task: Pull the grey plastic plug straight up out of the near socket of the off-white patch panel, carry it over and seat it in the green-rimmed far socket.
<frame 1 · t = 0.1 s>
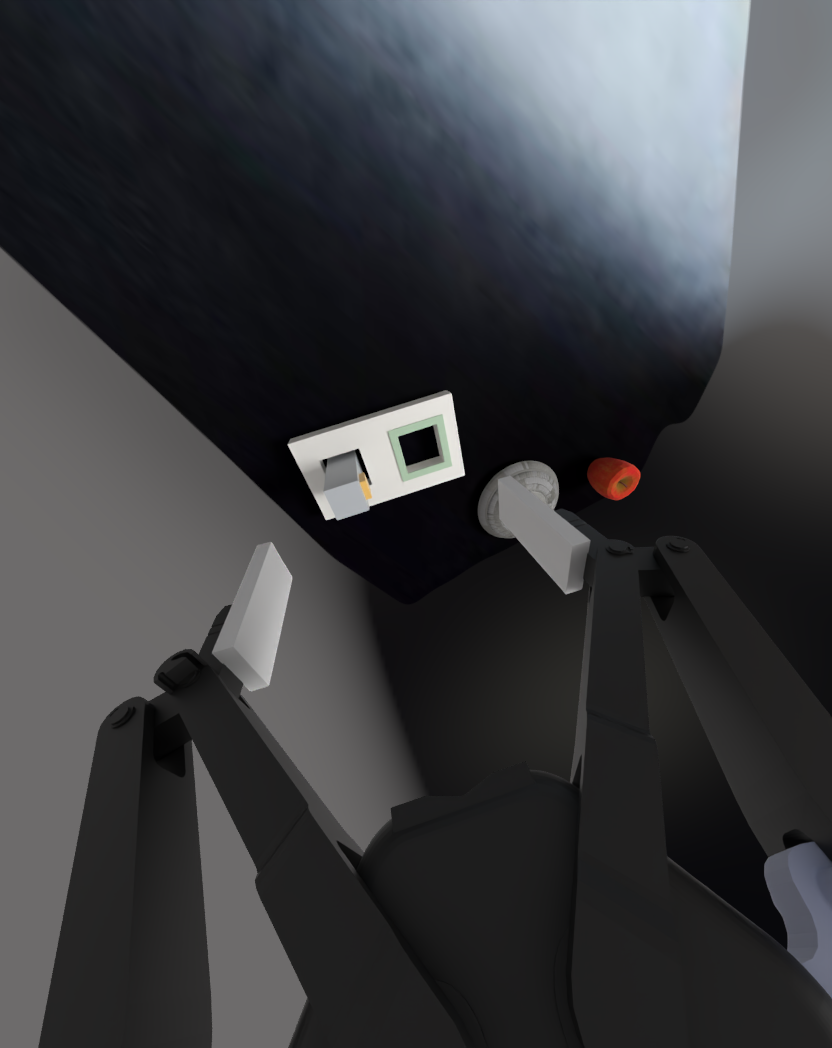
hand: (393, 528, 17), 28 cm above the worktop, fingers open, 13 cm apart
panel: (382, 455, 43), on the worktop
apple: (593, 467, 52), on the worktop
plug: (346, 466, 43), resting in panel
flying saucer: (513, 498, 53), on the worktop
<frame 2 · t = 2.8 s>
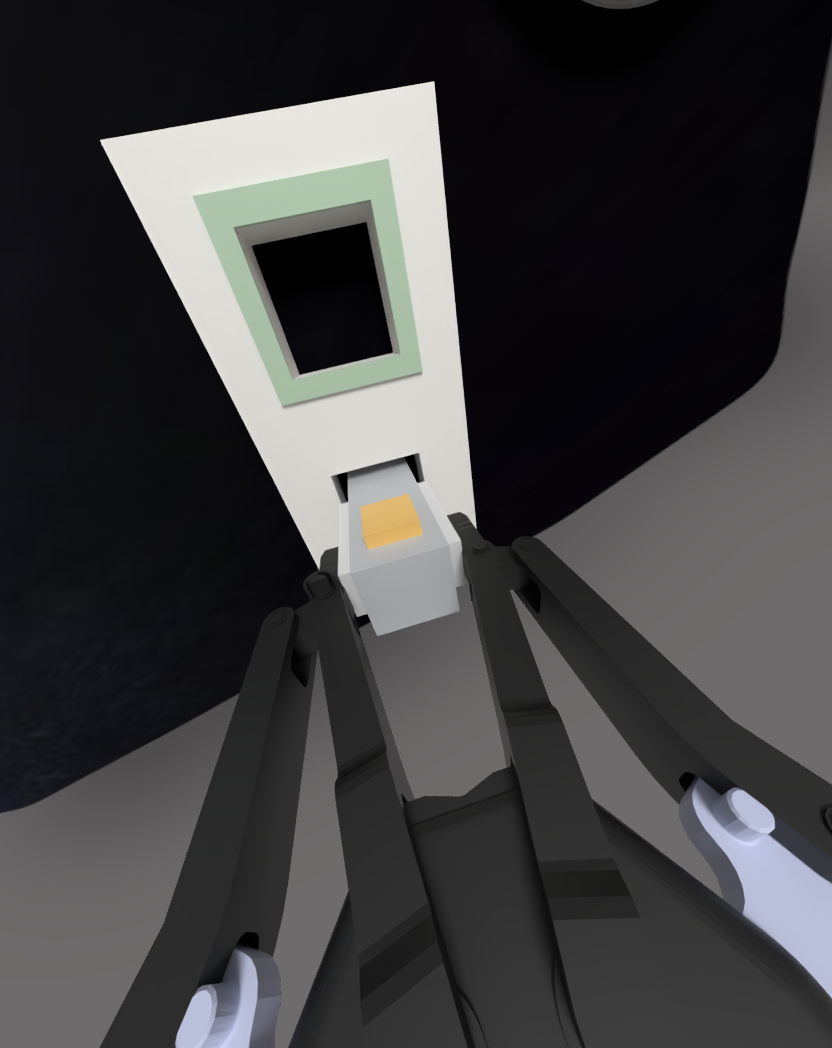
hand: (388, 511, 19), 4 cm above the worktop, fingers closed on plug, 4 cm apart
panel: (360, 411, 19), on the worktop
plug: (382, 487, 22), resting in panel, touching gripper
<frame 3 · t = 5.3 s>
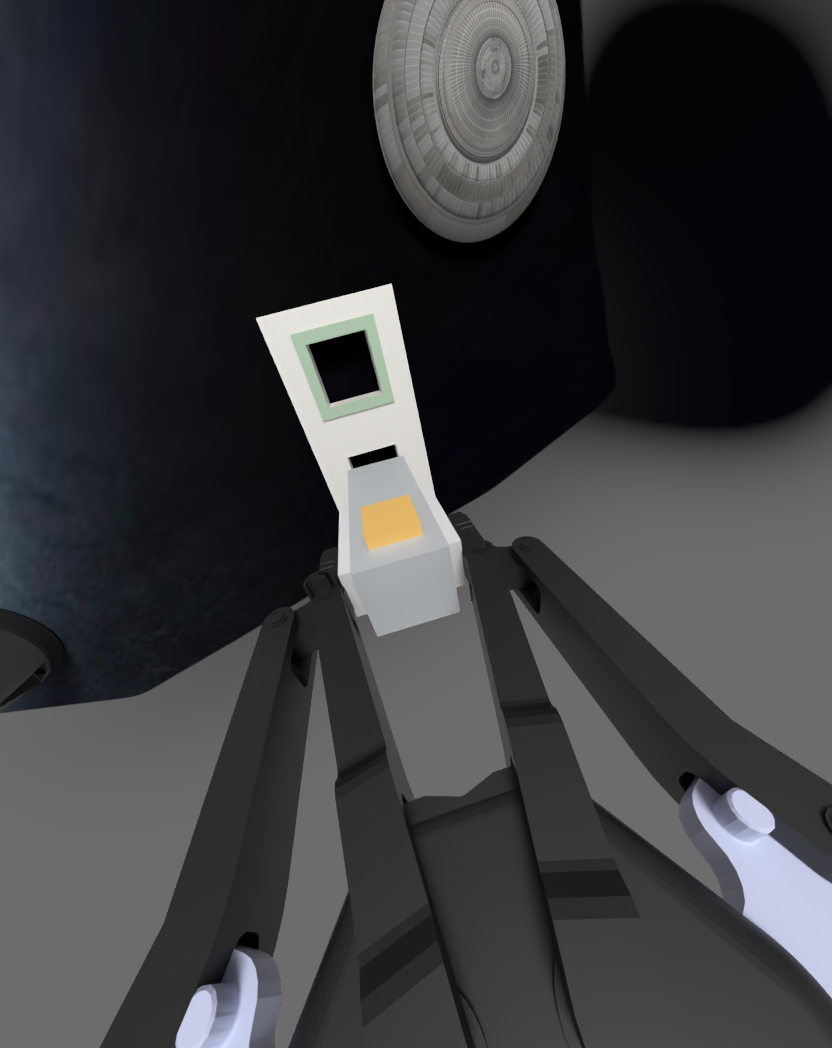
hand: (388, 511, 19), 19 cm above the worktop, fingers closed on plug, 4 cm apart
panel: (362, 421, 33), on the worktop
plug: (382, 487, 22), point 15 cm above the worktop, touching gripper
flying saucer: (464, 121, 24), on the worktop
when the fingers open (5 cm above the worktop, at t = 7.9 s): plug drops 1 cm, resting in panel.
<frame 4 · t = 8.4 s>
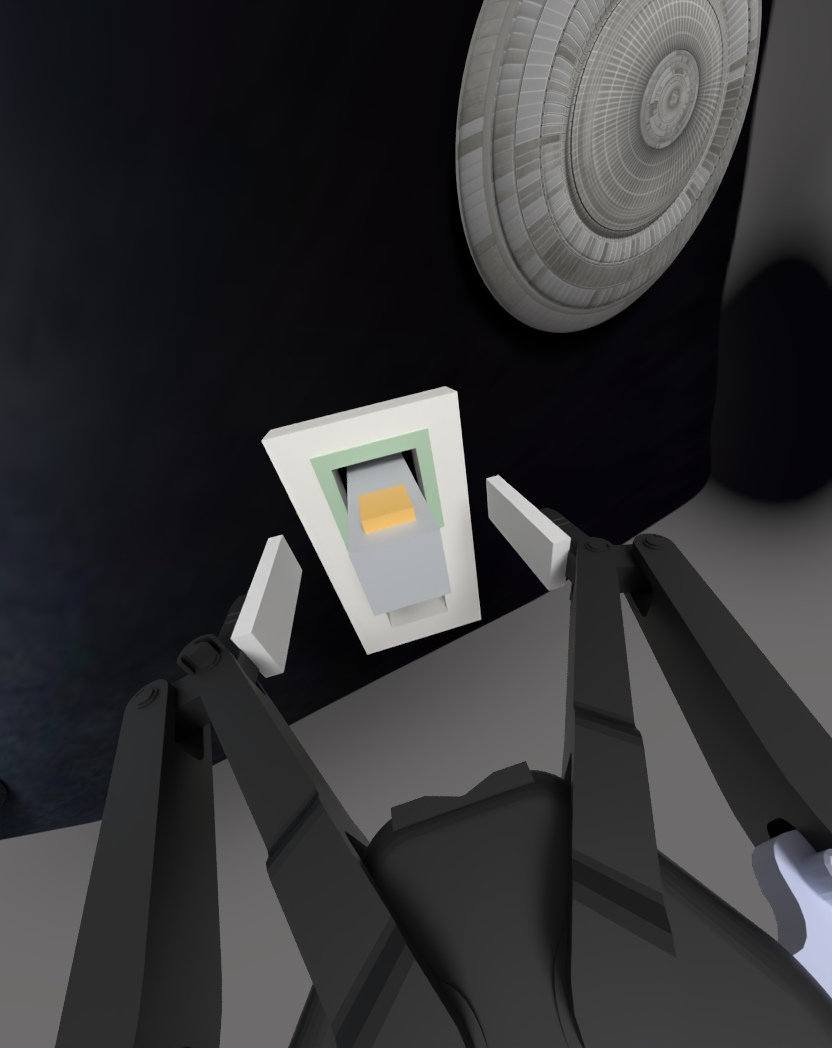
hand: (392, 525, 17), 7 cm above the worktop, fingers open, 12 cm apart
panel: (396, 537, 26), on the worktop
plug: (380, 481, 23), resting in panel
flying saucer: (577, 169, 16), on the worktop
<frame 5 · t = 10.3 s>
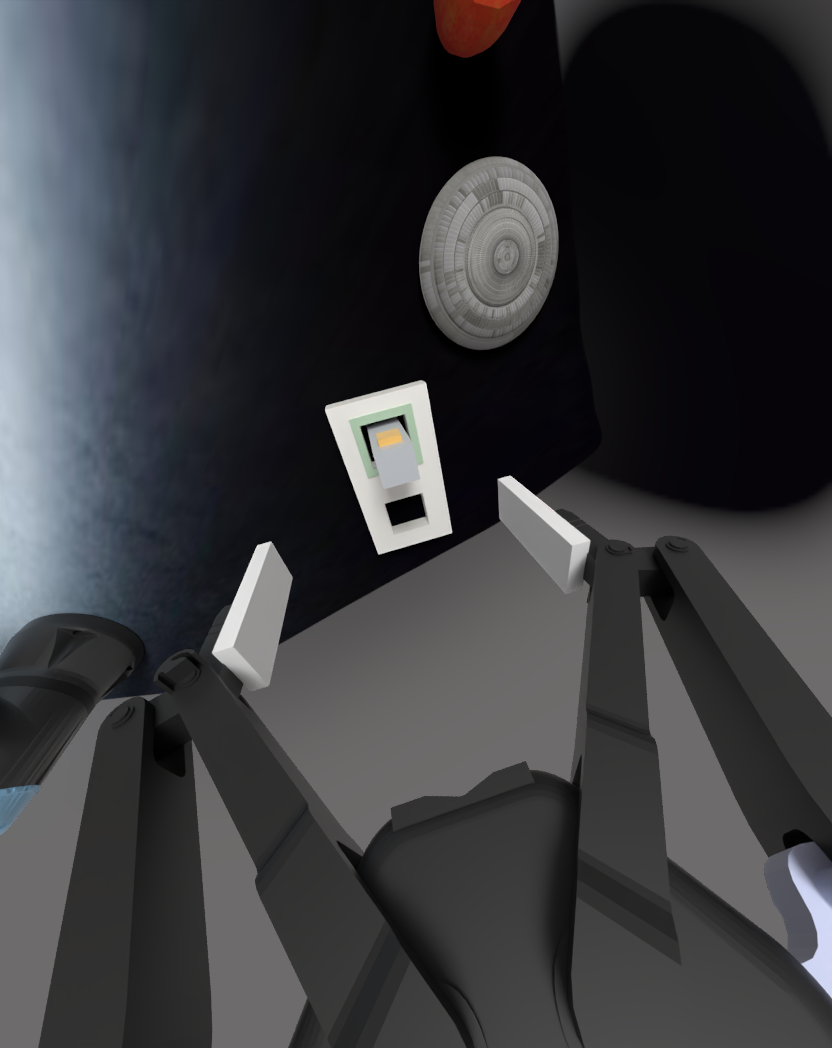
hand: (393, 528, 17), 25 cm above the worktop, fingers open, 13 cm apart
panel: (396, 474, 42), on the worktop
apple: (458, 27, 23), on the worktop
plug: (385, 436, 39), resting in panel
flying saucer: (483, 269, 32), on the worktop
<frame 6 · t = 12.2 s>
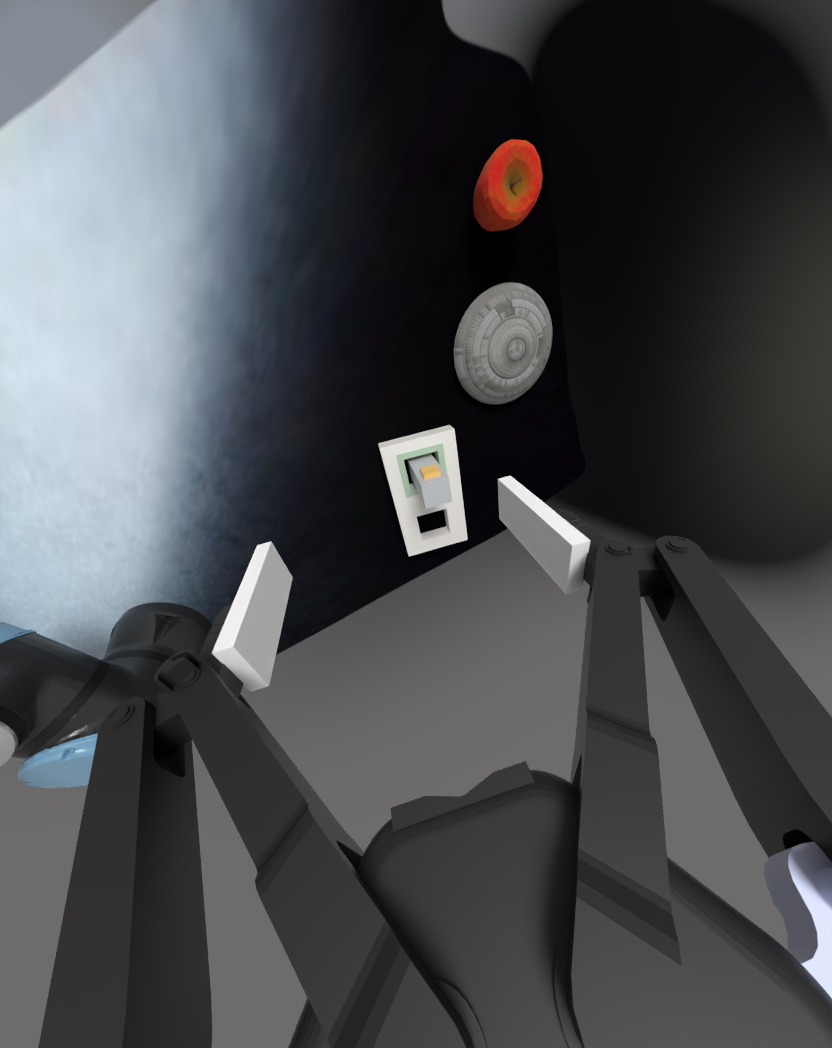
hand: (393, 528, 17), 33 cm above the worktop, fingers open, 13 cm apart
panel: (425, 493, 53), on the worktop
apple: (487, 208, 35), on the worktop
plug: (420, 465, 50), resting in panel
flying saucer: (498, 348, 44), on the worktop
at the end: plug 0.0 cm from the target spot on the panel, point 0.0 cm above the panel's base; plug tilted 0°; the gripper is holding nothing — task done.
